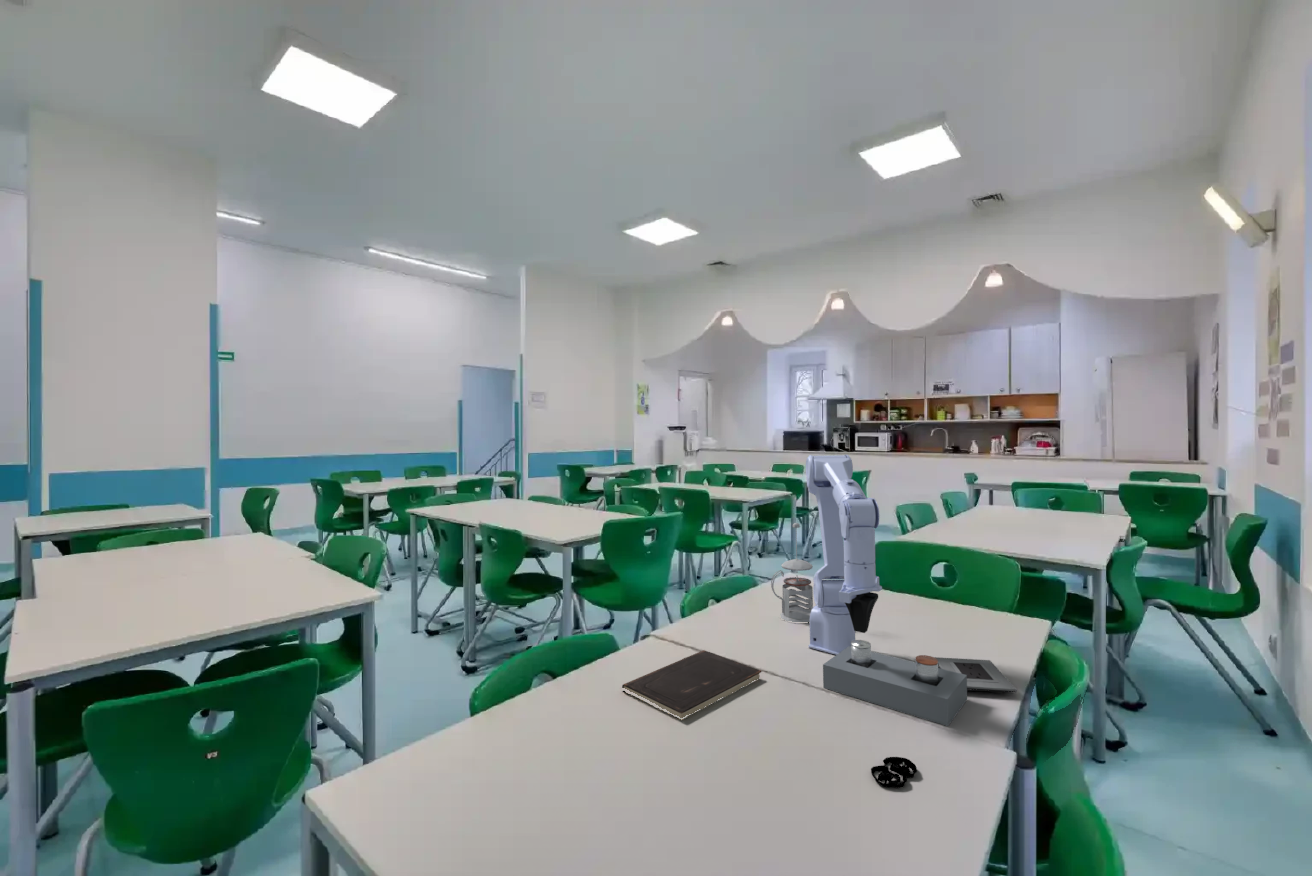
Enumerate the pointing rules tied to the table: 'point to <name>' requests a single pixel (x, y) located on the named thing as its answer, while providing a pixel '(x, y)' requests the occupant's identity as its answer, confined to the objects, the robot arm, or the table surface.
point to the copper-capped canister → (927, 670)
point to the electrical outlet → (978, 674)
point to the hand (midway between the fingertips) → (860, 631)
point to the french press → (793, 609)
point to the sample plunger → (861, 653)
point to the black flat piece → (899, 770)
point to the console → (897, 686)
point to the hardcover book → (693, 682)
